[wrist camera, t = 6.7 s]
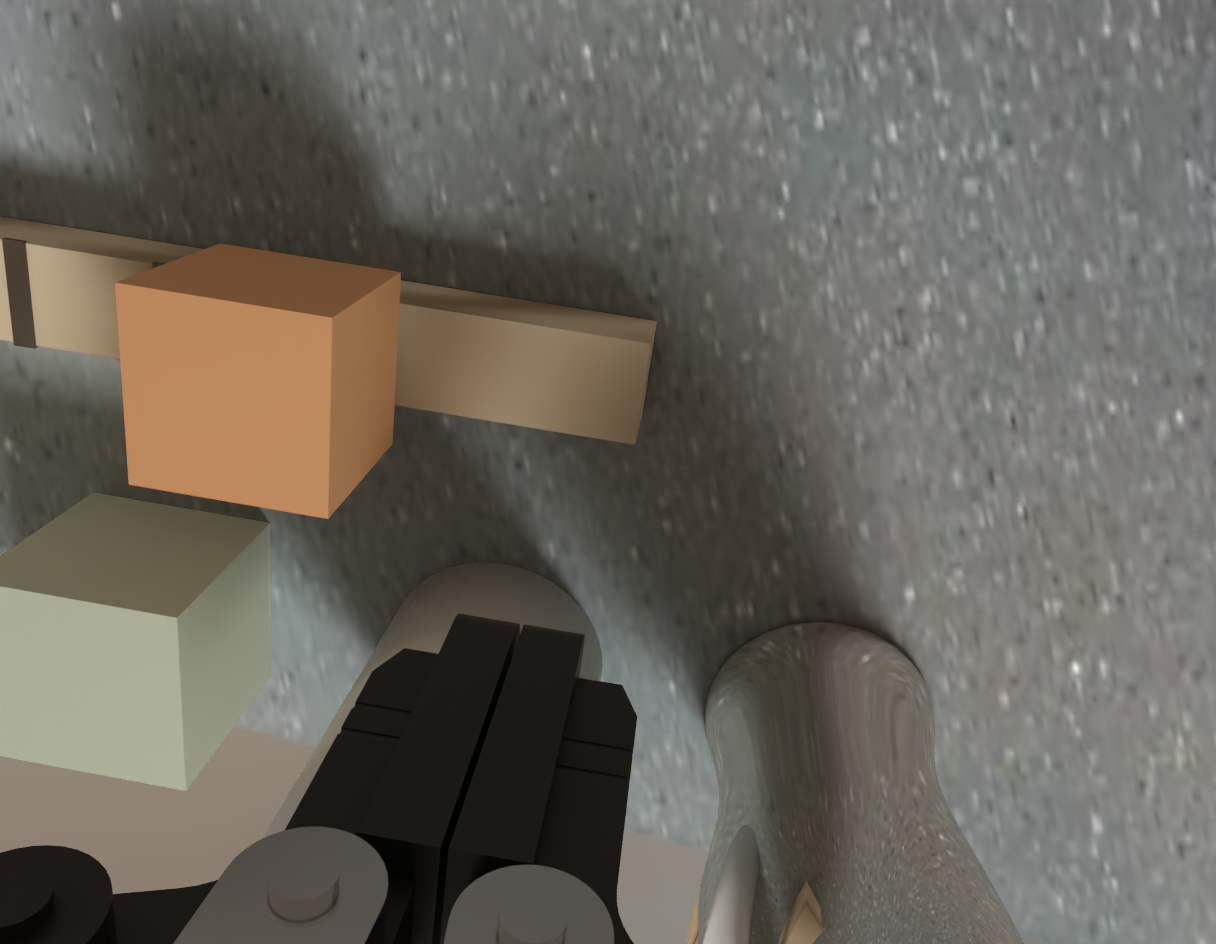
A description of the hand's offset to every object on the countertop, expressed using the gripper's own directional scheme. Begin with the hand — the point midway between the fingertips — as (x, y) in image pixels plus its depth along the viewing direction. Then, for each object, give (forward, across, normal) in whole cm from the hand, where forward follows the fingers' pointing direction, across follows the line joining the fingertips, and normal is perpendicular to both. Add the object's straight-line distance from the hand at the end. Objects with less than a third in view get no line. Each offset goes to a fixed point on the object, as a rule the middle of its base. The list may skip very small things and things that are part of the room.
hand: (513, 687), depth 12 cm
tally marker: (+11, +7, 0) cm, 13 cm away
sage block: (+14, +11, +9) cm, 20 cm away
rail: (+14, +10, 0) cm, 17 cm away
